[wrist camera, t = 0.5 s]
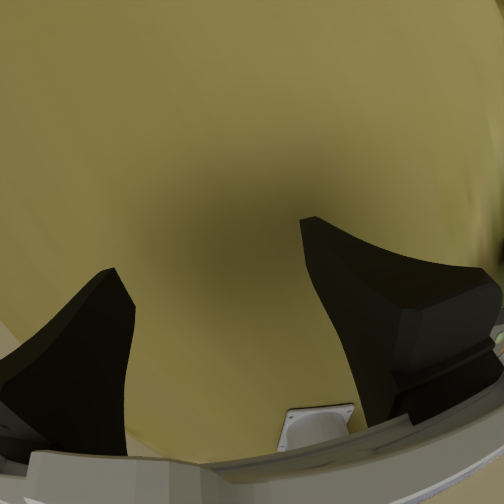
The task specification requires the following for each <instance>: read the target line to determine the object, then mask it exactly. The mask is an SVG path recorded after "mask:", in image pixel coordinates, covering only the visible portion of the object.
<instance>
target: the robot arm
mask: <svg viewBox="0 0 504 504" xmlns="http://www.w3.org/2000/svg"><path fill="white" fill-rule="evenodd" d="M299 221H300V228H301V234H302V241H303V247H304V254H305V261H306V267H307V270H308V272H309V275H310V278H311V281H312V283H313V286H314V288H315V290H316V292H317V294H318V296H319V298H320V300H321V302H322V304H323V306H324V308H325V310H326V312H327V314H328V316H329V318H330V320H331V322H332V323H333V325H334V327H335V329H336V331H337V334H338V336H339V338H340V340H341V343H342V346H343V349H344V351H345V354H346V357H347V360H348V363H349V366H350V369H351V372H352V375H353V378H354V381H355V384H356V387H357V390H358V394H359V397H360V400H361V404H362V407H363V411H364V415H365V418H366V422H367V426H368V428H367V429H364V430H361V431H358V432H355V433H352V434H349V432H348V429H347V426H346V424H347V422H348V420H349V418H350V416H351V414H352V412H353V410H354V405H353V404H348V405H340V406H331V407H321V408H310V409H296V410H289V411H288V412H287V414H286V418H285V422H284V426H283V429H282V433H281V436H280V440H279V443H278V447H277V451H279V453H274V454H269V455H264V456H258V457H252V458H246V459H239V460H232V461H224V462H215V463H205V464H197V463H192V462H186V461H181V460H176V459H171V458H157V457H142V456H128V454H127V448H126V438H125V427H124V384H125V376H126V370H127V364H128V359H129V354H130V349H131V343H132V338H133V333H134V326H135V308H136V306H135V305H134V303H133V301H132V299H131V297H130V296H129V294H128V292H127V290H126V288H125V287H124V285H123V283H122V281H121V279H120V277H119V275H118V274H117V272H116V270H115V268H114V267H113V268H110V269H106V270H103V271H101V272H99V273H98V274H97V275H95V276H94V277H93V278H92V279H91V280H90V281H89V282H88V283H87V284H86V285H85V286H84V287H83V288H82V289H81V290H80V291H79V292H78V293H77V294H76V295H75V296H74V297H73V298H72V299H71V300H70V301H69V302H68V303H67V304H66V305H65V306H64V307H63V308H62V309H61V310H60V311H59V312H58V313H57V314H56V315H55V317H54V318H53V319H52V320H50V321H49V322H48V323H47V324H46V325H45V326H44V327H43V328H42V329H41V330H40V331H38V332H37V333H36V334H35V335H34V336H33V337H31V338H30V339H29V340H27V341H26V342H25V343H24V344H22V345H21V346H20V347H18V348H17V349H16V350H14V351H13V352H12V353H10V354H9V355H7V356H6V357H4V358H3V359H1V360H0V504H419V503H421V502H423V501H425V500H427V499H429V498H431V497H433V496H435V495H437V494H439V493H441V492H443V491H444V490H447V489H449V488H450V487H452V486H454V485H456V484H457V483H459V482H461V481H462V480H464V479H466V478H467V477H469V476H471V475H472V474H474V473H476V472H477V471H478V470H480V469H482V468H483V467H485V466H486V465H488V464H489V463H491V462H492V461H494V460H495V459H496V458H498V457H499V456H501V455H502V454H503V453H504V351H503V352H502V353H501V354H500V355H499V356H498V357H497V356H496V354H495V353H494V351H493V349H494V348H495V342H494V340H493V339H492V338H491V336H490V333H491V331H492V329H493V327H494V324H495V322H496V320H497V317H498V315H499V312H500V309H501V306H502V296H503V293H502V290H501V287H500V286H499V285H498V284H497V283H496V282H495V281H494V280H493V279H492V278H491V277H490V276H489V275H488V274H487V273H486V272H485V271H484V270H483V269H482V268H475V267H462V266H451V265H445V264H438V263H432V262H427V261H423V260H418V259H414V258H411V257H407V256H403V255H400V254H396V253H393V252H391V251H388V250H385V249H382V248H379V247H377V246H374V245H372V244H370V243H367V242H365V241H363V240H361V239H358V238H356V237H354V236H352V235H350V234H348V233H346V232H344V231H342V230H341V229H339V228H337V227H335V226H333V225H331V224H330V223H328V222H326V221H324V220H322V219H320V218H318V217H316V216H314V217H310V218H306V219H301V220H299ZM282 451H284V452H282Z"/></svg>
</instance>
